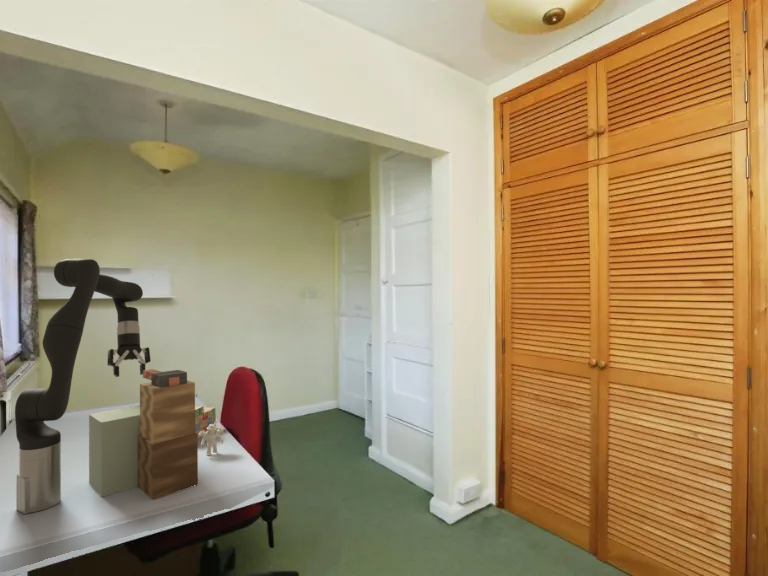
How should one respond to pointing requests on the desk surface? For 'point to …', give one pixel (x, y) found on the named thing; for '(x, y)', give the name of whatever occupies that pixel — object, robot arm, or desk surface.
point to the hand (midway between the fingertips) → (130, 375)
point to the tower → (167, 439)
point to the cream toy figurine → (211, 437)
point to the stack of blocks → (204, 418)
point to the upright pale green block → (114, 450)
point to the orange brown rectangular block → (165, 377)
